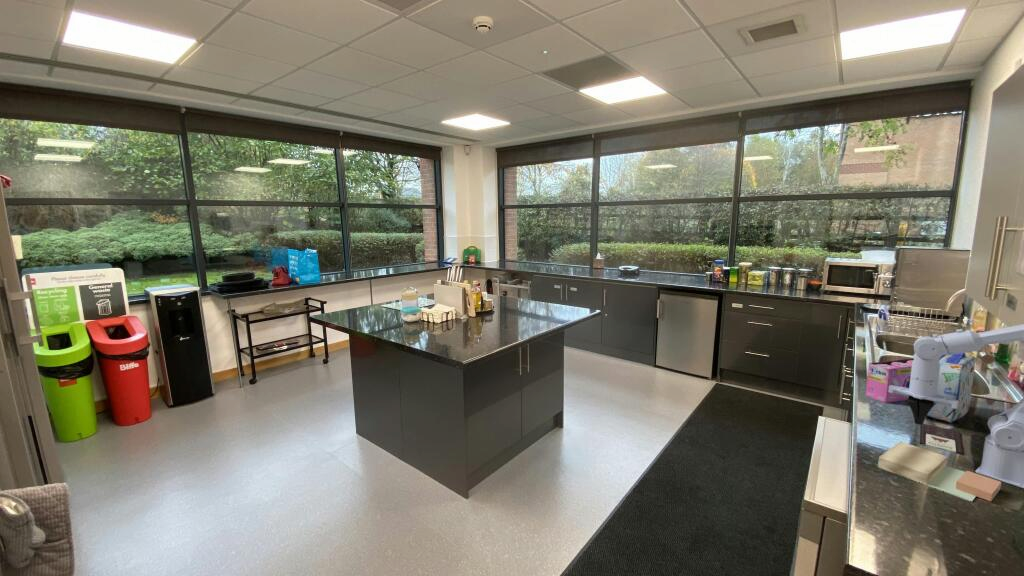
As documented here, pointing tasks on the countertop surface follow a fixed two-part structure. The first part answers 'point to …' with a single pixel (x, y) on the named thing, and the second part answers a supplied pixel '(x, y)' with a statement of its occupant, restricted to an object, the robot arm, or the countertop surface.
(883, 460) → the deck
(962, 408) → the lunch box
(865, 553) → the countertop surface
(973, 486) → the tile
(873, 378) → the gum box
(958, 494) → the mat
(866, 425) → the countertop surface
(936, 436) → the chocolate bar
